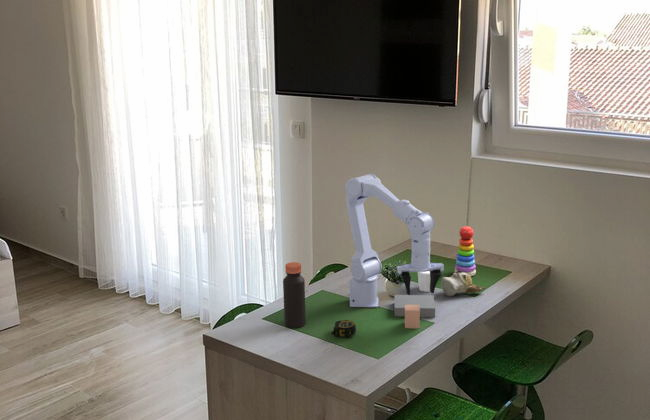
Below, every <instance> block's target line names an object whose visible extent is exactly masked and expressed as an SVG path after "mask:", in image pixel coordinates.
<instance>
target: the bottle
mask: <svg viewBox="0 0 650 420" xmlns="http://www.w3.org/2000/svg"><path fill="white" fill-rule="evenodd" d="M284 266H285V274H286V275H285V277H284V278H283V280H282V289H283V291H282V293H283V315H284V316H283V317H284V319H283V320H284V325H285V326H286V327H287V328H292V329H297V328H301V327H304V326H305V325H306V322H307V319H306V318H307V317H306V312H307V311H306V289H305V287H306V286H305V284H306V283H305V278H304V277H303V276H302V264H301V263H300V262H295V261H294V262H293V261H291V262H287V263H285V265H284Z"/></svg>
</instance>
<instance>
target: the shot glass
mask: <svg viewBox="0 0 650 420" xmlns="http://www.w3.org/2000/svg"><path fill="white" fill-rule="evenodd" d="M417 280H418V281H417V282H418V290H420V291H421V292H423V293H431V292H430V271H427V272H417Z"/></svg>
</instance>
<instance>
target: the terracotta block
mask: <svg viewBox="0 0 650 420" xmlns="http://www.w3.org/2000/svg"><path fill="white" fill-rule="evenodd" d="M420 320H421V317H420V307H419V305H405V316H404V329H420V324H421V323H420V322H421V321H420Z"/></svg>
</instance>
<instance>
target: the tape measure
mask: <svg viewBox="0 0 650 420" xmlns="http://www.w3.org/2000/svg"><path fill="white" fill-rule="evenodd" d="M356 332H357V326H356V323H355V322H354V321H352V320H349V319H343V320H337V321H335V323H334V326H333V331H331V335H333V337H336V338H349V337H352V336H354V335H355V334H356Z"/></svg>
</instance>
